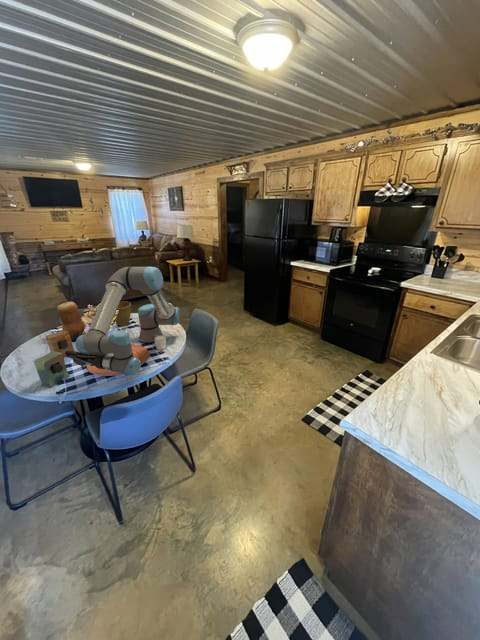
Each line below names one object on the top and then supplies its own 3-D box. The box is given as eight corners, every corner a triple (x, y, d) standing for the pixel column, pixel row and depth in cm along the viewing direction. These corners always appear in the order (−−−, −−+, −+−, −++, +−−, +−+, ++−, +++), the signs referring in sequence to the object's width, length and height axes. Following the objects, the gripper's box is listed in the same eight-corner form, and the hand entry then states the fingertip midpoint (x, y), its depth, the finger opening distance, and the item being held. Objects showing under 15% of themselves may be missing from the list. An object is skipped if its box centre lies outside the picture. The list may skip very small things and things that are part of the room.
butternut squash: (65, 335, 183) (55, 301, 173) (87, 331, 189) (78, 298, 179) (64, 343, 172) (54, 307, 162) (87, 338, 178) (78, 304, 168)
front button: (64, 370, 133) (61, 363, 131) (56, 374, 129) (54, 367, 128) (59, 369, 134) (57, 362, 132) (51, 373, 130) (49, 366, 128)
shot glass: (168, 345, 169) (167, 336, 166) (162, 350, 163) (161, 340, 160) (159, 344, 171) (158, 334, 168) (153, 349, 165) (151, 339, 162)
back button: (69, 347, 155) (67, 341, 153) (62, 349, 152) (60, 343, 150) (66, 345, 157) (64, 339, 155) (59, 348, 153) (57, 342, 152)
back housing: (74, 352, 161) (69, 332, 155) (57, 359, 153) (50, 338, 147) (69, 350, 164) (63, 329, 158) (52, 357, 156) (45, 336, 150)
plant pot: (119, 320, 207) (115, 301, 201) (137, 321, 206) (134, 301, 200) (108, 328, 194) (104, 307, 187) (128, 329, 192) (124, 308, 186)
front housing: (68, 375, 138) (61, 352, 133) (51, 387, 129) (42, 363, 124) (60, 374, 140) (52, 351, 134) (42, 385, 131) (33, 361, 126)
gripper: (98, 376, 113) (56, 367, 120) (119, 361, 125) (80, 353, 131) (94, 361, 110) (52, 353, 117) (116, 347, 122) (76, 340, 128)
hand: (67, 353), depth 124 cm, fingers closed
